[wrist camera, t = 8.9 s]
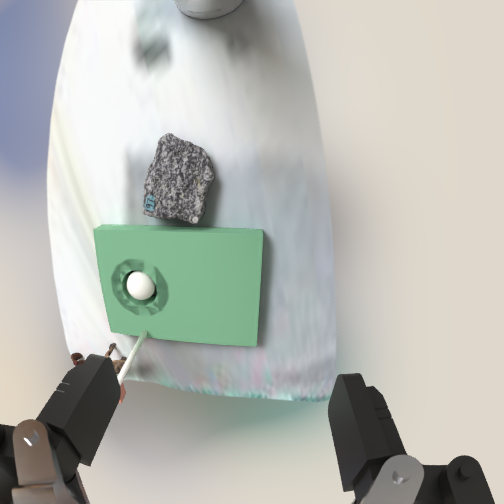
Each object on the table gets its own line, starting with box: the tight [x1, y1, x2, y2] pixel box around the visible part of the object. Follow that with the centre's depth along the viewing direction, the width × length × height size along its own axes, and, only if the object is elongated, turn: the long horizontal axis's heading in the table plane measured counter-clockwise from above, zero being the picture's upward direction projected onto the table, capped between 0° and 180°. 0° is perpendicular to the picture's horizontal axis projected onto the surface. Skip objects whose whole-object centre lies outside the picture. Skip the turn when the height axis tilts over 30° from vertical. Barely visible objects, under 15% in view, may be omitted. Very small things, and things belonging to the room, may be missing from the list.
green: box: [93, 225, 263, 346], centre depth 38 cm, size 16×22×2 cm
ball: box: [127, 271, 156, 300], centre depth 37 cm, size 4×4×4 cm
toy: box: [71, 343, 126, 374], centre depth 42 cm, size 6×9×15 cm
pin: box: [117, 329, 148, 403], centre depth 34 cm, size 3×1×12 cm, turn 178°
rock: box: [143, 133, 215, 224], centre depth 33 cm, size 8×10×4 cm
